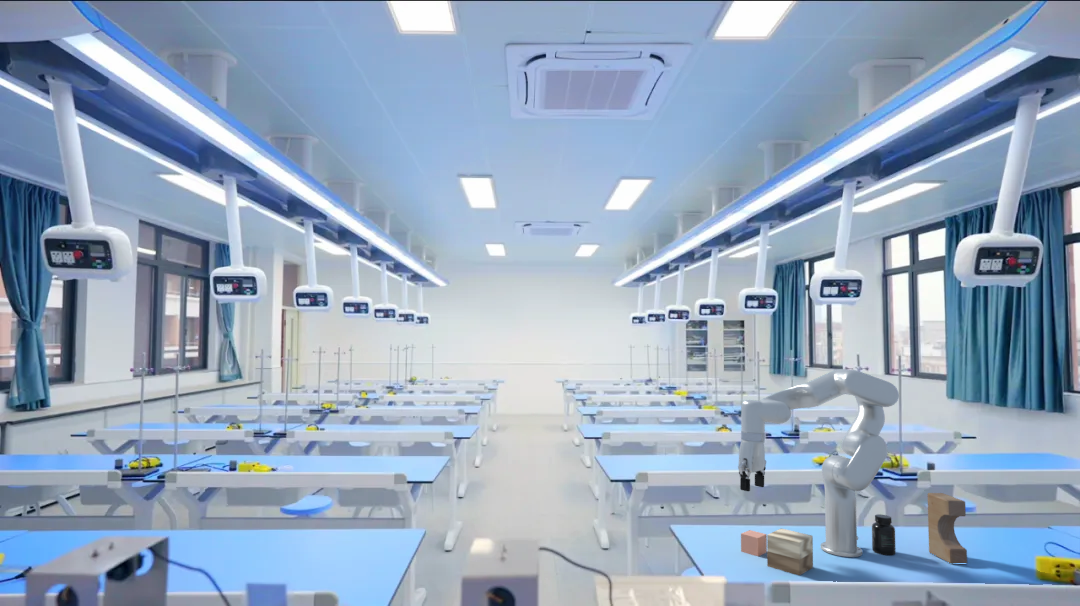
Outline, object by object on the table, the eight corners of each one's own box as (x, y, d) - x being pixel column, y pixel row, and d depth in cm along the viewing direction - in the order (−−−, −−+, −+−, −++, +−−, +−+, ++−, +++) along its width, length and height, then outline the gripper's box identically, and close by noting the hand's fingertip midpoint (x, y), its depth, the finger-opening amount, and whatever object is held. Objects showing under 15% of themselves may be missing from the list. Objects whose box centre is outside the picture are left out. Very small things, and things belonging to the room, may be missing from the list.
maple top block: (781, 544, 194) (781, 528, 194) (812, 552, 187) (812, 535, 187) (767, 551, 187) (767, 534, 187) (799, 559, 180) (799, 542, 180)
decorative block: (968, 565, 191) (966, 501, 193) (950, 564, 191) (948, 501, 193) (945, 552, 202) (943, 492, 204) (928, 552, 202) (926, 492, 204)
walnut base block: (781, 559, 194) (781, 543, 194) (813, 568, 187) (812, 551, 187) (767, 567, 187) (767, 550, 187) (799, 576, 180) (799, 559, 180)
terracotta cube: (749, 548, 204) (749, 530, 205) (766, 552, 200) (766, 534, 200) (741, 551, 200) (740, 533, 200) (758, 556, 196) (757, 538, 196)
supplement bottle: (870, 547, 206) (870, 512, 207) (893, 550, 204) (892, 514, 205) (874, 554, 200) (873, 517, 201) (897, 557, 197) (896, 520, 198)
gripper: (754, 433, 211) (754, 483, 210) (729, 437, 199) (729, 489, 198) (775, 436, 206) (775, 487, 204) (750, 440, 194) (750, 494, 193)
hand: (752, 488), depth 201 cm, fingers open, 9 cm apart
